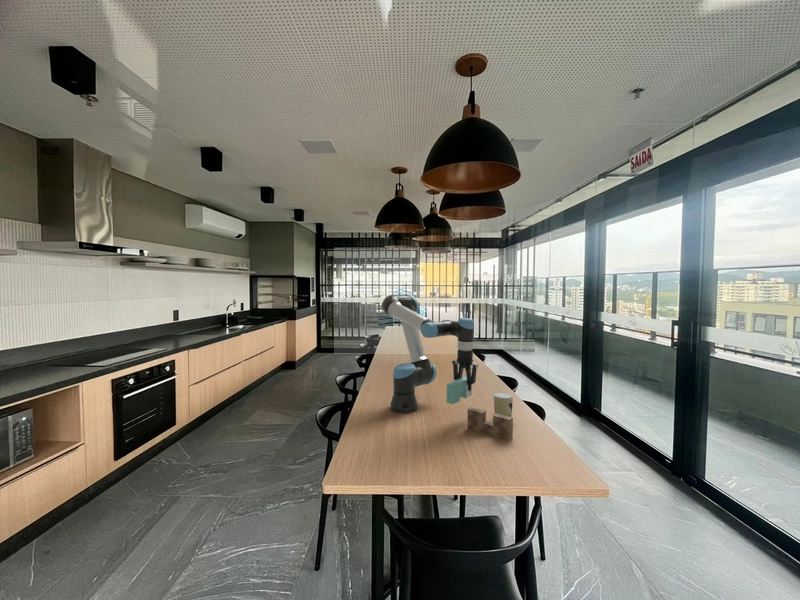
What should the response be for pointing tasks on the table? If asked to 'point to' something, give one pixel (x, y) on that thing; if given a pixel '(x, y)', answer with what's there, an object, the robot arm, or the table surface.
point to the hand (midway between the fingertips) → (464, 395)
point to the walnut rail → (490, 424)
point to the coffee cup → (503, 404)
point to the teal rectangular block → (457, 390)
